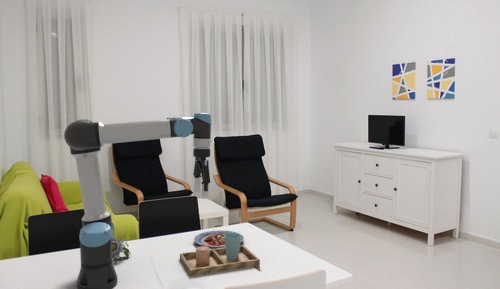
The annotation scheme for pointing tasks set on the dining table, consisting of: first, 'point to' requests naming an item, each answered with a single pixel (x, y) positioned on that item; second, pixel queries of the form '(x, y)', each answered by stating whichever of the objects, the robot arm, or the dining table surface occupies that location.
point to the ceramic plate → (213, 238)
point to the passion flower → (119, 248)
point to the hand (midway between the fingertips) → (201, 195)
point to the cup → (232, 245)
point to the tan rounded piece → (202, 256)
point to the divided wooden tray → (219, 261)
